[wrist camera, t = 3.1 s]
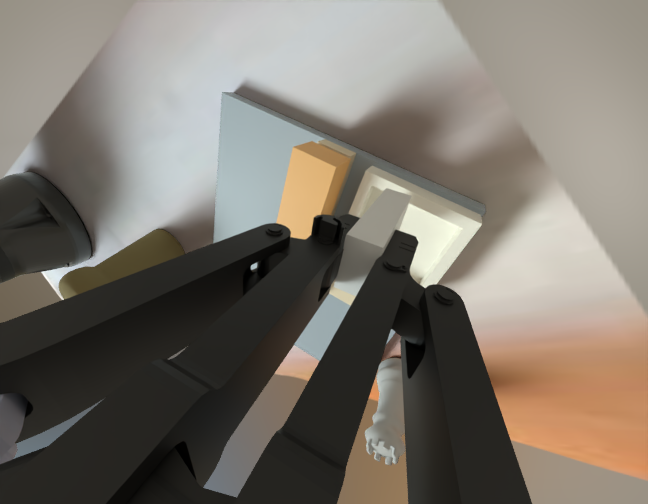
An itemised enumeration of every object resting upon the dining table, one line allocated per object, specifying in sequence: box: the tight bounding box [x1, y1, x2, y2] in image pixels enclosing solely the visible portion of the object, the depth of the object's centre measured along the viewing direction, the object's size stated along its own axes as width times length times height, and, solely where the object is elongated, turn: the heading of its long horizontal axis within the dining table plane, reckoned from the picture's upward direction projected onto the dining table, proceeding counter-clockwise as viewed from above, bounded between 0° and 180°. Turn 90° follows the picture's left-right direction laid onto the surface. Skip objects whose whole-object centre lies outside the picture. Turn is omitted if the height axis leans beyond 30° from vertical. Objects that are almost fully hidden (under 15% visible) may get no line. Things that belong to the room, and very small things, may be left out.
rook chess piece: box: [365, 357, 405, 465], centre depth 24 cm, size 4×4×8 cm
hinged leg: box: [276, 141, 351, 239], centre depth 20 cm, size 12×4×2 cm, turn 162°
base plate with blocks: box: [213, 92, 486, 361], centre depth 24 cm, size 20×22×4 cm
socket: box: [348, 166, 482, 288], centre depth 19 cm, size 7×7×2 cm
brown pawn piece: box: [59, 229, 185, 300], centre depth 31 cm, size 6×6×11 cm
